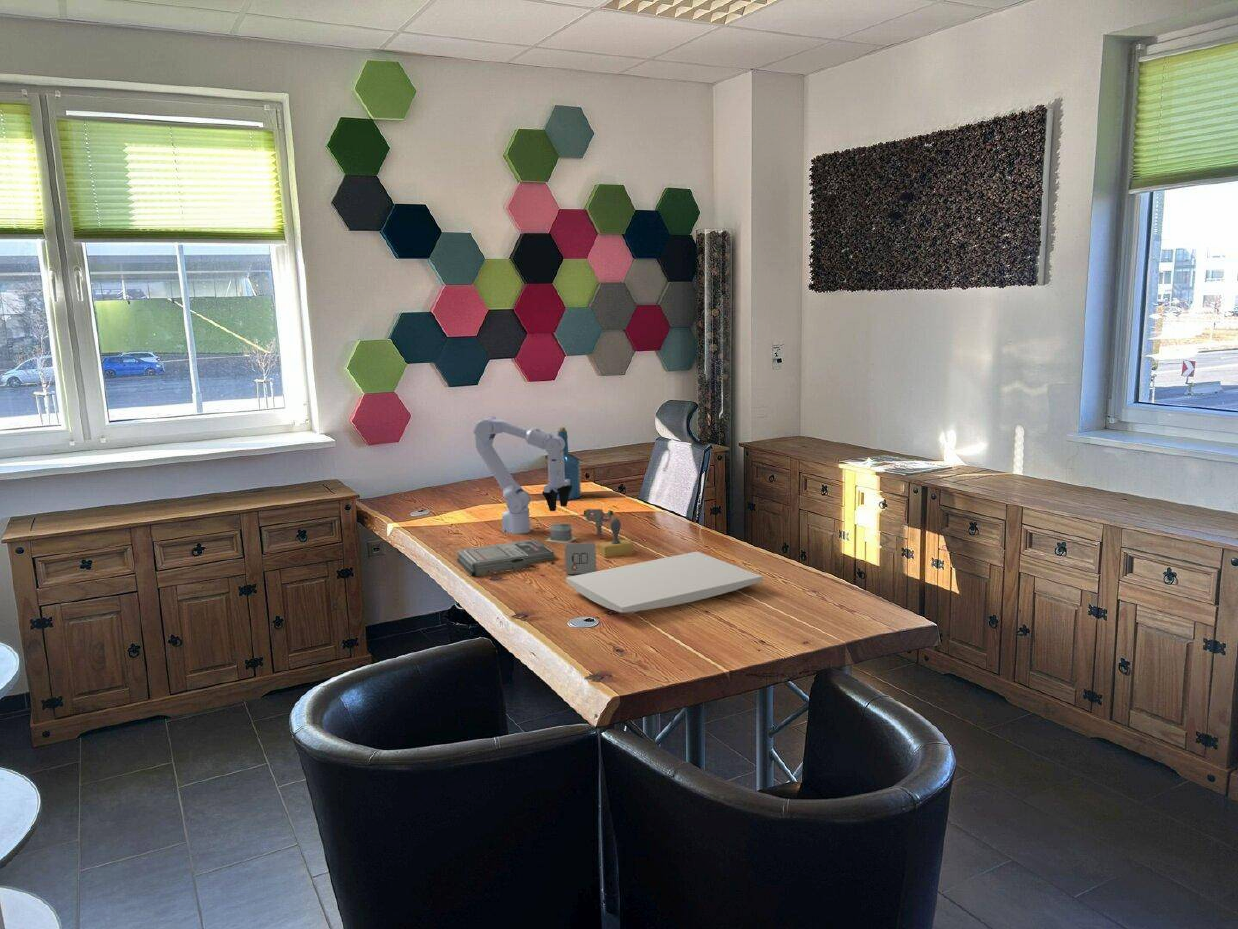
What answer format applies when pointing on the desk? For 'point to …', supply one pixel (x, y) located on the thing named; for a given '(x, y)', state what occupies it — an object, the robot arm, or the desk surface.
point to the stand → (561, 541)
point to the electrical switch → (580, 558)
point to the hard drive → (503, 557)
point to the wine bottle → (570, 468)
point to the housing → (561, 532)
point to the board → (662, 582)
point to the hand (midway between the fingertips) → (558, 508)
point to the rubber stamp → (616, 543)
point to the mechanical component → (598, 517)
